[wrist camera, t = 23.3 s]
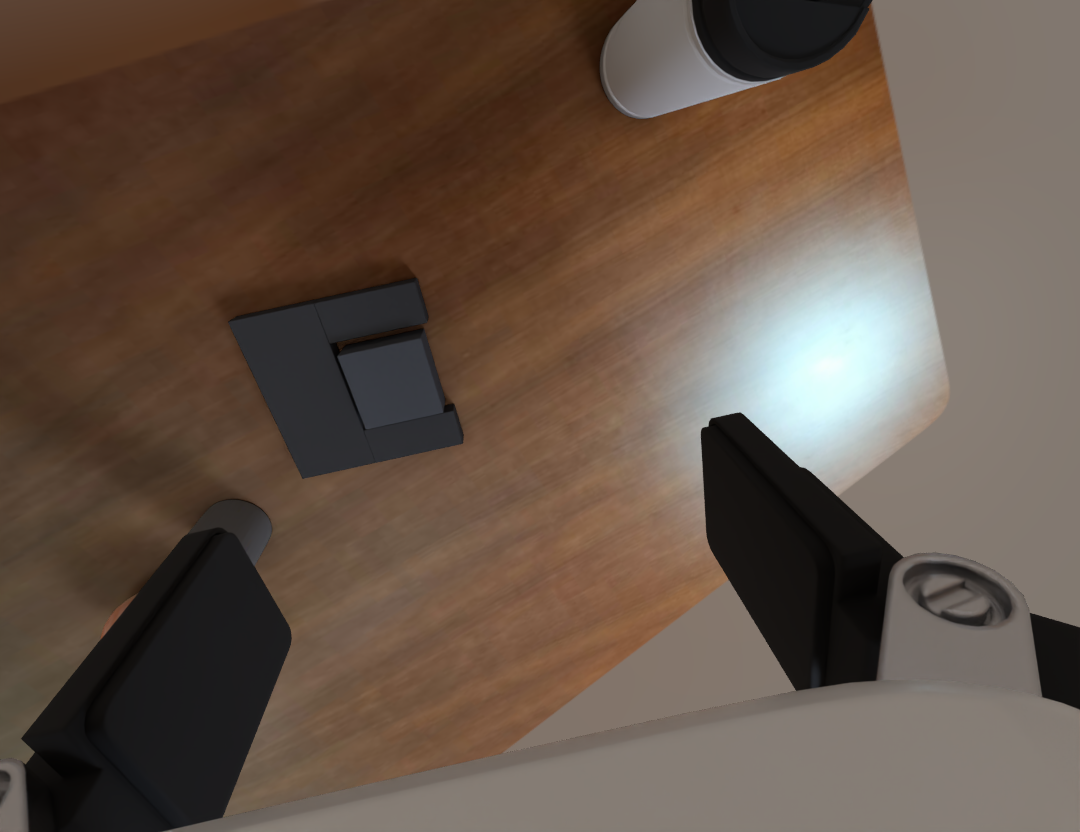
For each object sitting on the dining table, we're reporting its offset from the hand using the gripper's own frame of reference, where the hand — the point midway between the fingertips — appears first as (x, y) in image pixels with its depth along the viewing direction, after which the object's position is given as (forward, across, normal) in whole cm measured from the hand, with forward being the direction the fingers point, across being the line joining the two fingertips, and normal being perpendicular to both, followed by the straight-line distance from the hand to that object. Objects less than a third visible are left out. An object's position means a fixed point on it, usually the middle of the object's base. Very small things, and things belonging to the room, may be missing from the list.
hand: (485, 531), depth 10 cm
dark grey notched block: (+32, +12, +7) cm, 35 cm away
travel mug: (+32, -14, -10) cm, 37 cm away
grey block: (+32, +9, +7) cm, 34 cm away
